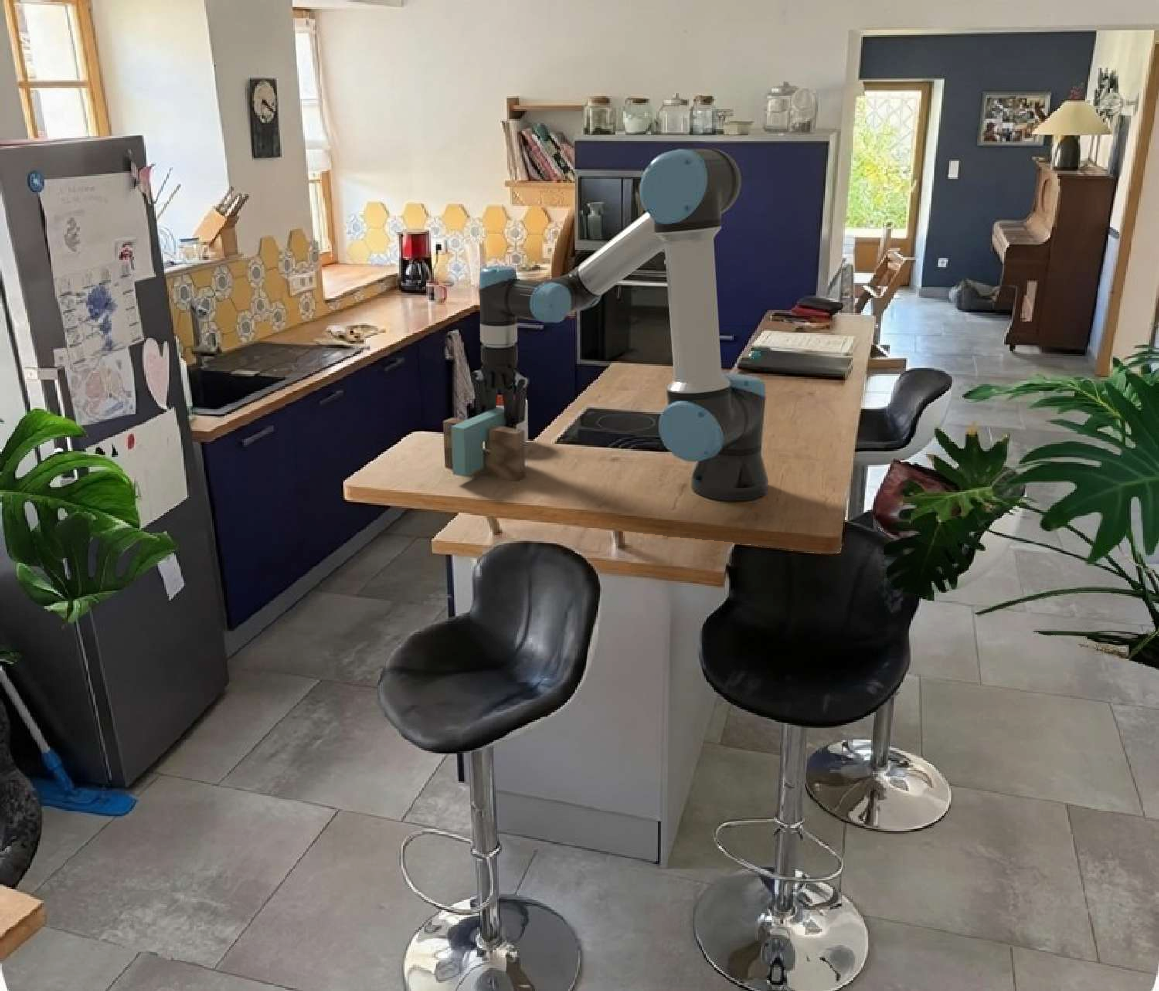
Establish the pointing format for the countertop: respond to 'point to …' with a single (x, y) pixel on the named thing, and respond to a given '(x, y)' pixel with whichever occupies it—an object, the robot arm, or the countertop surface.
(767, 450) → the countertop surface
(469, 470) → the teal arch piece
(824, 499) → the countertop surface
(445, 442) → the u-notched wood block
